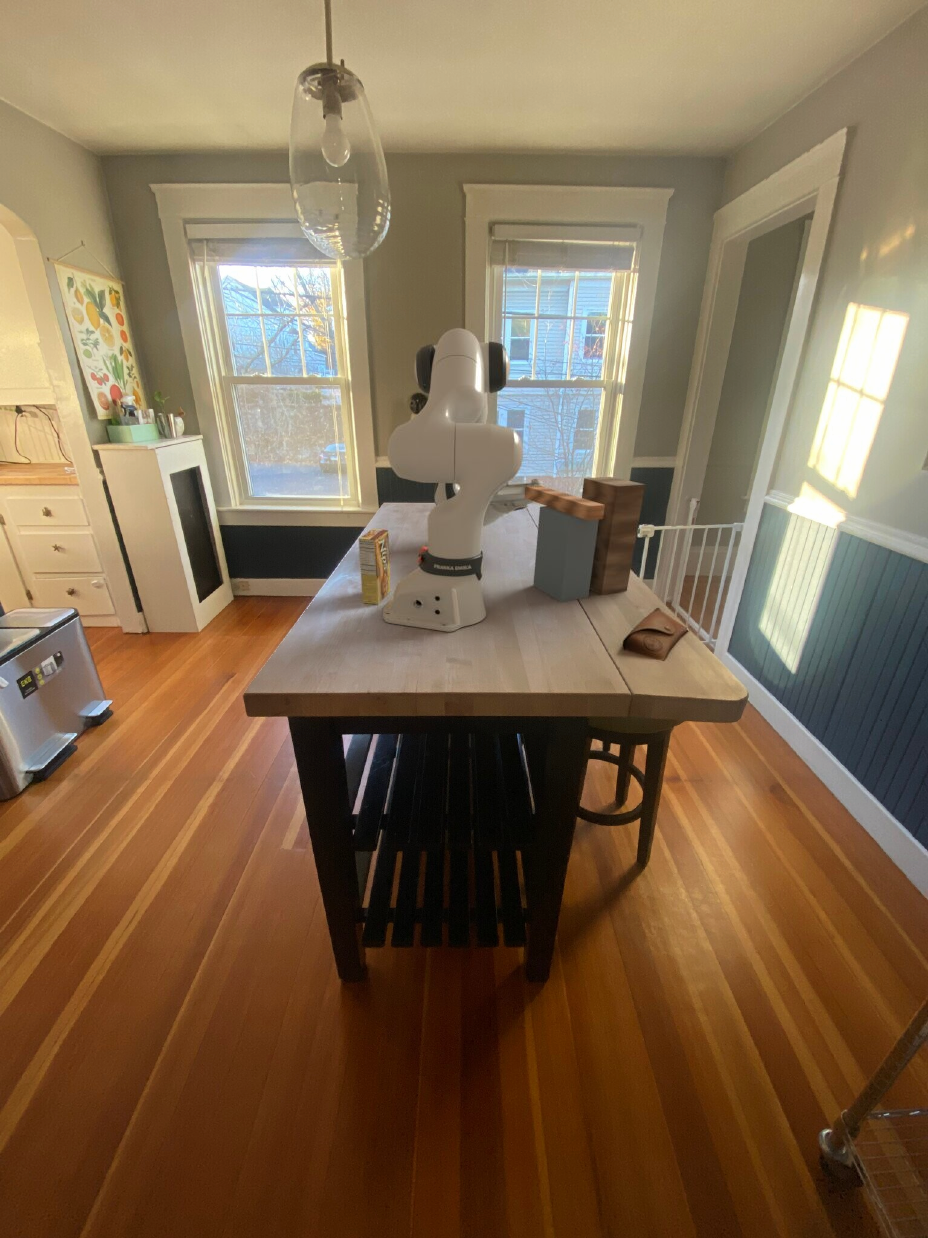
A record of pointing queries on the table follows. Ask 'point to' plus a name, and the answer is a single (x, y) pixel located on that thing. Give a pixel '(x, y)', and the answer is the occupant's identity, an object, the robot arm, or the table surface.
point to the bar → (565, 502)
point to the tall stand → (614, 531)
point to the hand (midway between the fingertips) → (521, 482)
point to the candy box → (374, 565)
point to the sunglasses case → (654, 635)
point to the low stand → (564, 554)
